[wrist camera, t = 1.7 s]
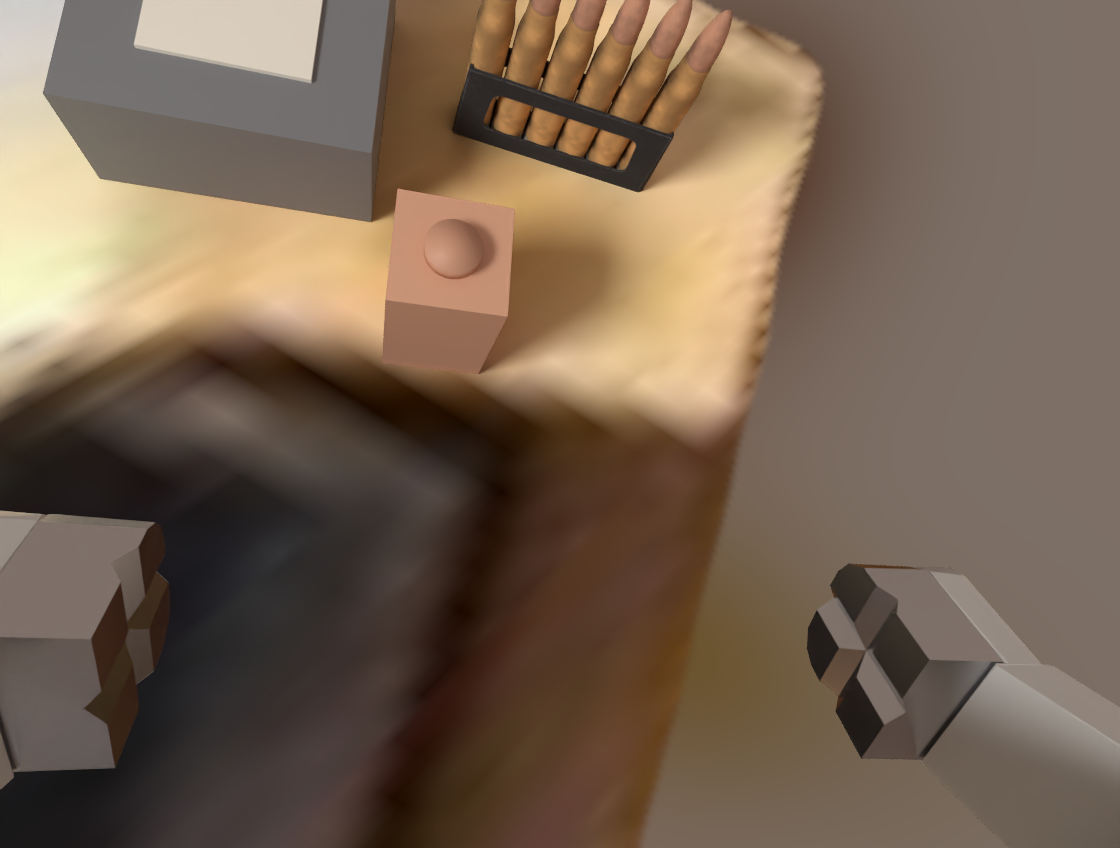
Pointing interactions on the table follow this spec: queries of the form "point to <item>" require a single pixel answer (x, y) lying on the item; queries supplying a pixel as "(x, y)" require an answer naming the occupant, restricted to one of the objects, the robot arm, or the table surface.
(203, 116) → the base block
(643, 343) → the table surface
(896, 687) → the robot arm
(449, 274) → the block
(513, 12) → the ammunition clip
